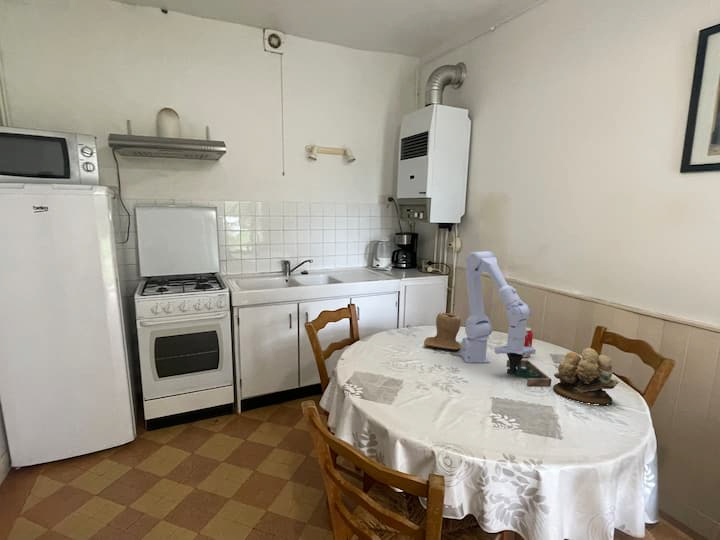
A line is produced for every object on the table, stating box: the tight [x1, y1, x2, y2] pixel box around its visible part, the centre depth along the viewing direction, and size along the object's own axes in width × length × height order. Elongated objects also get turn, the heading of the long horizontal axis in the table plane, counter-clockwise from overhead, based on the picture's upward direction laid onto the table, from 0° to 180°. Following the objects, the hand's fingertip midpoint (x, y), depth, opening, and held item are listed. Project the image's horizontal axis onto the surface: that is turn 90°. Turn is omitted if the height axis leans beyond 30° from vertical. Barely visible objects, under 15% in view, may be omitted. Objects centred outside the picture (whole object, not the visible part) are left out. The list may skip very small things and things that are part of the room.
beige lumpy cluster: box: [552, 347, 620, 406], centre depth 120 cm, size 18×12×17 cm, turn 65°
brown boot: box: [423, 312, 462, 351], centre depth 162 cm, size 15×12×15 cm
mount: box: [506, 361, 539, 379], centre depth 135 cm, size 11×4×5 cm, turn 66°
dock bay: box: [506, 359, 552, 387], centre depth 135 cm, size 8×17×2 cm, turn 3°
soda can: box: [521, 325, 534, 359], centre depth 154 cm, size 7×7×12 cm
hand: (512, 371), depth 135 cm, fingers closed, pressing on mount
